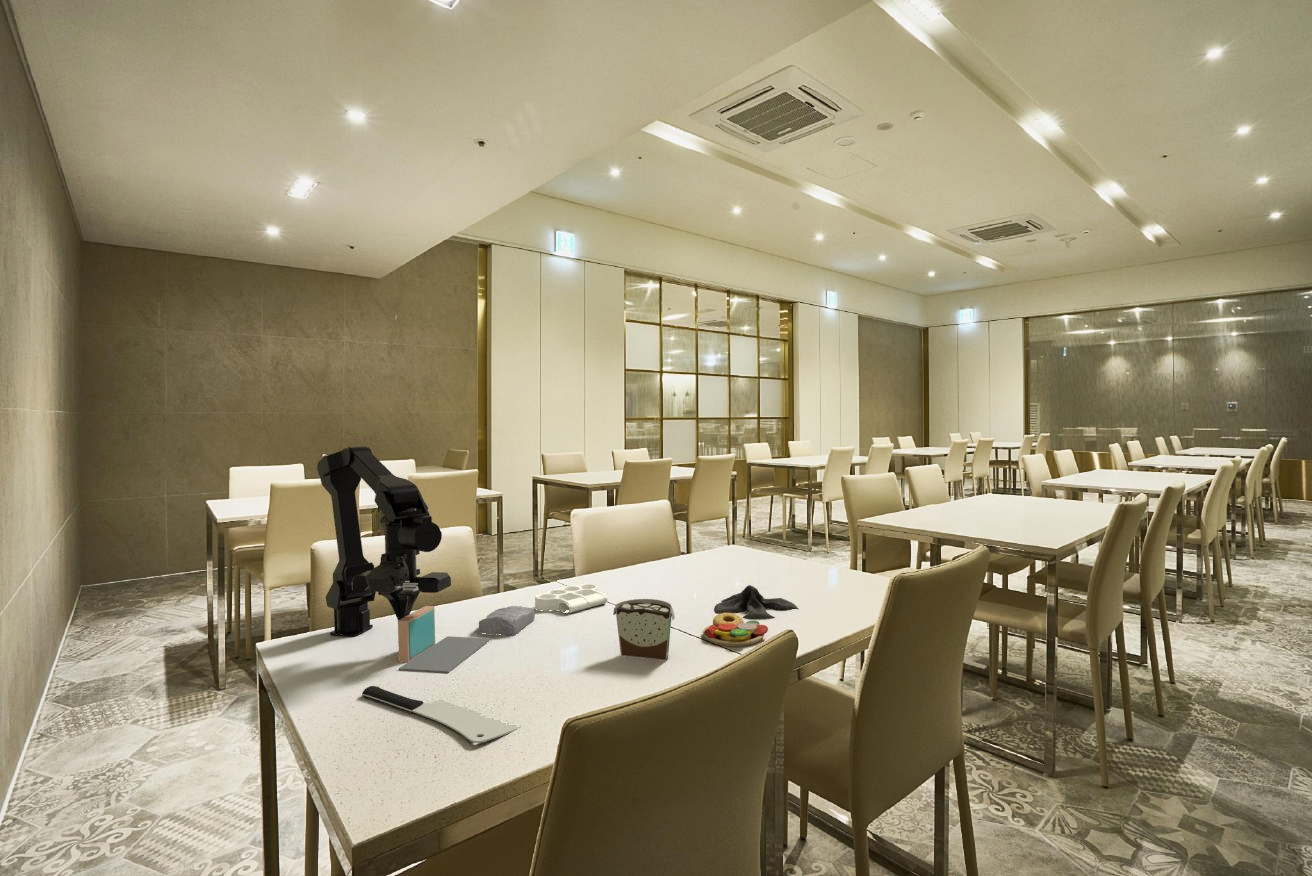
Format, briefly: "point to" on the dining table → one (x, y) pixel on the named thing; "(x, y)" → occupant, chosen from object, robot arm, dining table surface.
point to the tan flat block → (416, 633)
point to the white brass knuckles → (570, 598)
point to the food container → (644, 628)
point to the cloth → (752, 604)
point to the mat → (445, 654)
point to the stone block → (507, 620)
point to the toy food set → (734, 630)
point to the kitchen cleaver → (445, 715)
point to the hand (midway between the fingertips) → (402, 624)
